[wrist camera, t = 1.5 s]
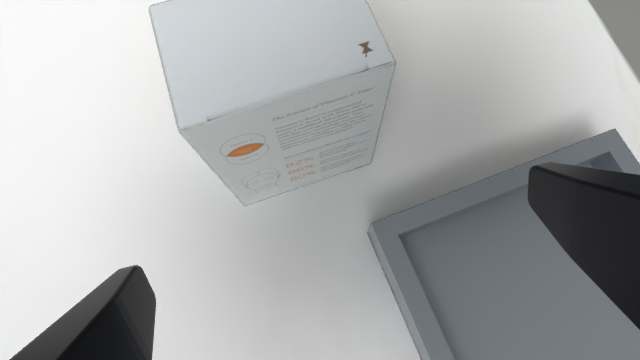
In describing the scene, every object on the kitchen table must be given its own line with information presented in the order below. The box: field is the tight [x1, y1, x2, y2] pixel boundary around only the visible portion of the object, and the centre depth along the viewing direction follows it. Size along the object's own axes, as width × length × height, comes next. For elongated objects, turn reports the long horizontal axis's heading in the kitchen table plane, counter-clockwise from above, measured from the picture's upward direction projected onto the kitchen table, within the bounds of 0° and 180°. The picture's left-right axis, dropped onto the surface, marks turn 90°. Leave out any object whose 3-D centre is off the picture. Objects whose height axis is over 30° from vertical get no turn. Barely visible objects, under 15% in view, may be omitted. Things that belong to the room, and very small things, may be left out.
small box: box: [149, 0, 396, 206], centre depth 19 cm, size 8×6×10 cm
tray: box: [367, 129, 640, 360], centre depth 20 cm, size 14×14×2 cm
